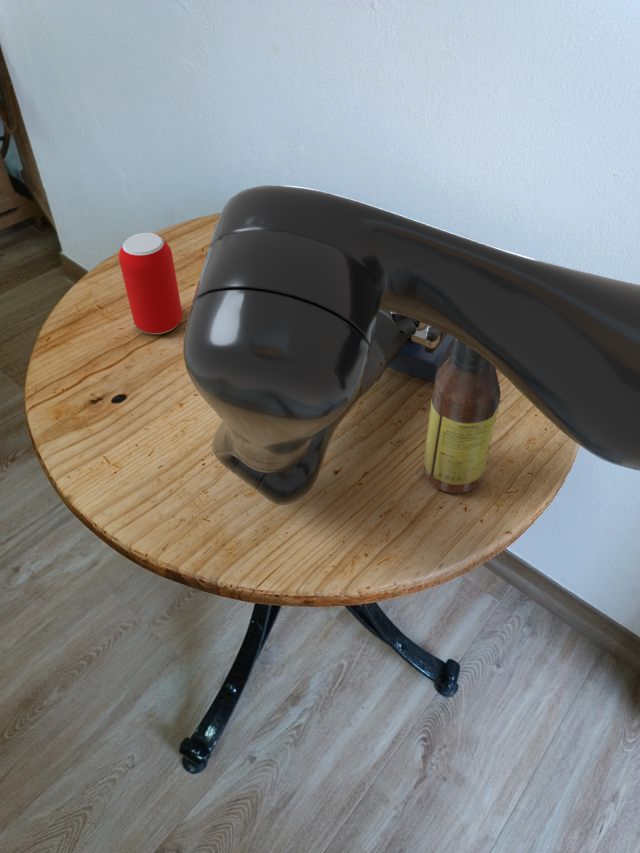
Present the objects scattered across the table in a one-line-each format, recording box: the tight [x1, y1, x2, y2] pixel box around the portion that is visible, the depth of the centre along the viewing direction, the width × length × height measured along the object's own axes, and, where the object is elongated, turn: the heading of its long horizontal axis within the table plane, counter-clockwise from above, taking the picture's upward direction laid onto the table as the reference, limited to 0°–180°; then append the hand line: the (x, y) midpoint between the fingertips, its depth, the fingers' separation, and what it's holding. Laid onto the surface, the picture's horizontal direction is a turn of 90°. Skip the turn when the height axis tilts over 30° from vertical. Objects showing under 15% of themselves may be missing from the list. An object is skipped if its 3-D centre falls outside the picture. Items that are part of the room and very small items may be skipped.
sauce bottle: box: [423, 337, 501, 495], centre depth 65 cm, size 7×6×20 cm
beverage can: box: [118, 232, 183, 335], centre depth 85 cm, size 6×6×12 cm
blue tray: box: [388, 334, 454, 383], centre depth 87 cm, size 13×14×3 cm
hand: (418, 281), depth 85 cm, fingers open, 7 cm apart
